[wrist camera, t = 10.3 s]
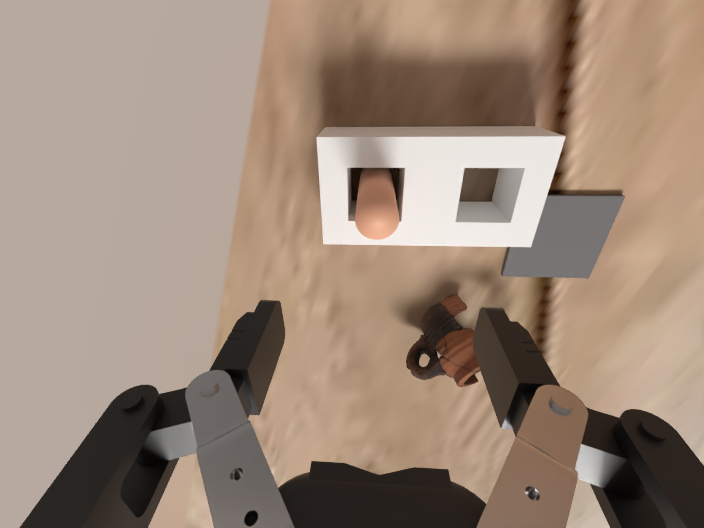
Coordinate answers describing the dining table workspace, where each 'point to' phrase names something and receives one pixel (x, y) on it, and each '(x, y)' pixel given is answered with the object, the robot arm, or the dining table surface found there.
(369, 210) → the dowel
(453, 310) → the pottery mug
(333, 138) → the socket block
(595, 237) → the mat
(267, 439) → the dining table surface
